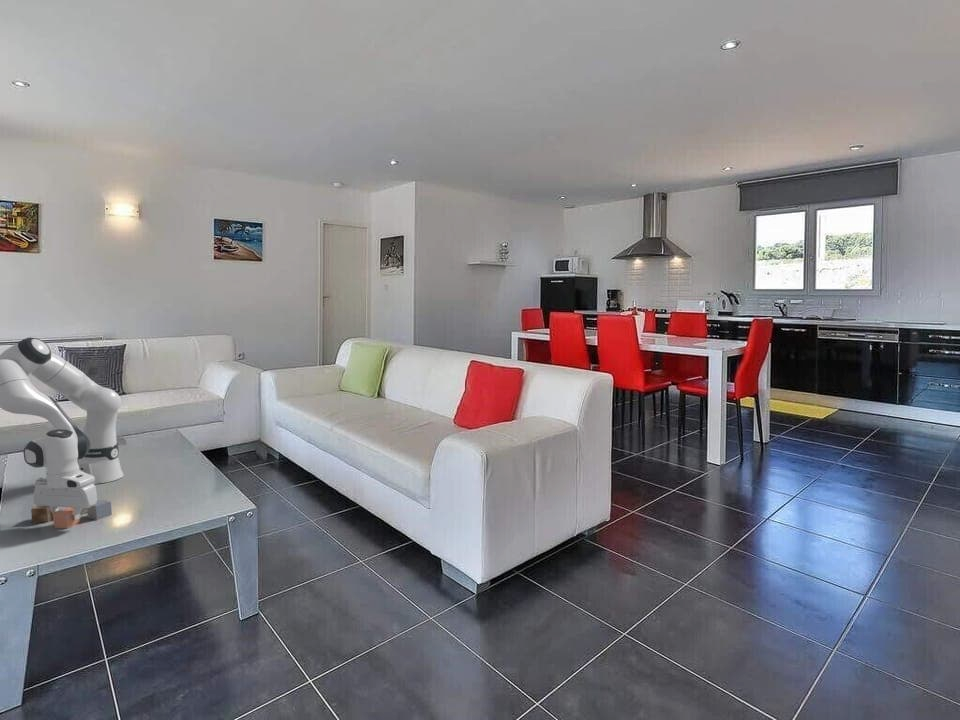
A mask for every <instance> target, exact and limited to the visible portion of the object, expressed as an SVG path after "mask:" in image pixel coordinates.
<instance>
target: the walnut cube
mask: <svg viewBox="0 0 960 720" xmlns="http://www.w3.org/2000/svg"><path fill="white" fill-rule="evenodd" d="M30 510H31V511H30V512H31V523H32V524H39V523H40V524H41V523H50V522H51V521H53V513H52V512H51V510H50V508H49V506H37V505H35V506H34V507H31V509H30Z"/></svg>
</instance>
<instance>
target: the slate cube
mask: <svg viewBox="0 0 960 720" xmlns="http://www.w3.org/2000/svg"><path fill="white" fill-rule="evenodd" d="M112 510H113V509H112V501H111V500H106V499H103V498H102V499H97V503H96V504H95V505H94V506H92V507H90V508H87V512H86V513H87V518H88V519H92V520H95V521H98V520H101V519H102V520H103V519H104V518H107V517H110V516H112V515H113V513H112V512H113V511H112Z"/></svg>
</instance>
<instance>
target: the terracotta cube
mask: <svg viewBox="0 0 960 720" xmlns="http://www.w3.org/2000/svg"><path fill="white" fill-rule="evenodd" d="M58 510H59V511H56V512H54V513H53V520H52V521H53V528H54V529H55V528H56V529H70V528H72V527H73V526H75V525H77V524H79V523H81V517H80V518H79V519H77V520H72V519H71V518H72V517H71V515H72V514H74V512H75V510H73V508H71V507H62V508H60V509H58ZM79 514H80V513H79ZM80 515H81V514H80Z"/></svg>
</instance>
